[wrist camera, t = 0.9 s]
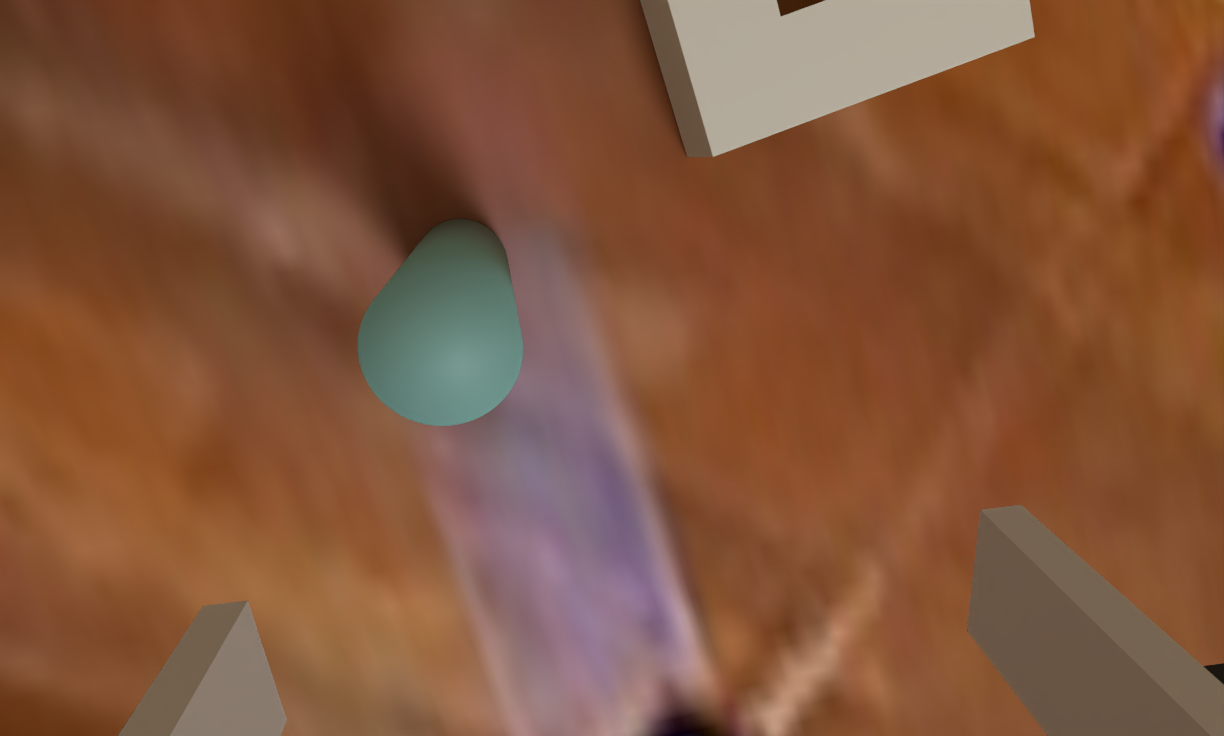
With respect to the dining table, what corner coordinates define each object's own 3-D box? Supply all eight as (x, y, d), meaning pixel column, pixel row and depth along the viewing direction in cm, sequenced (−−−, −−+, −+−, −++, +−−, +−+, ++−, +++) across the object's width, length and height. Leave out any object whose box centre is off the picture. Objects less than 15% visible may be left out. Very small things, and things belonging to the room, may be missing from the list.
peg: (437, 322, 33) (398, 448, 19) (400, 238, 32) (329, 304, 18) (521, 291, 33) (545, 392, 19) (487, 205, 32) (487, 245, 18)
